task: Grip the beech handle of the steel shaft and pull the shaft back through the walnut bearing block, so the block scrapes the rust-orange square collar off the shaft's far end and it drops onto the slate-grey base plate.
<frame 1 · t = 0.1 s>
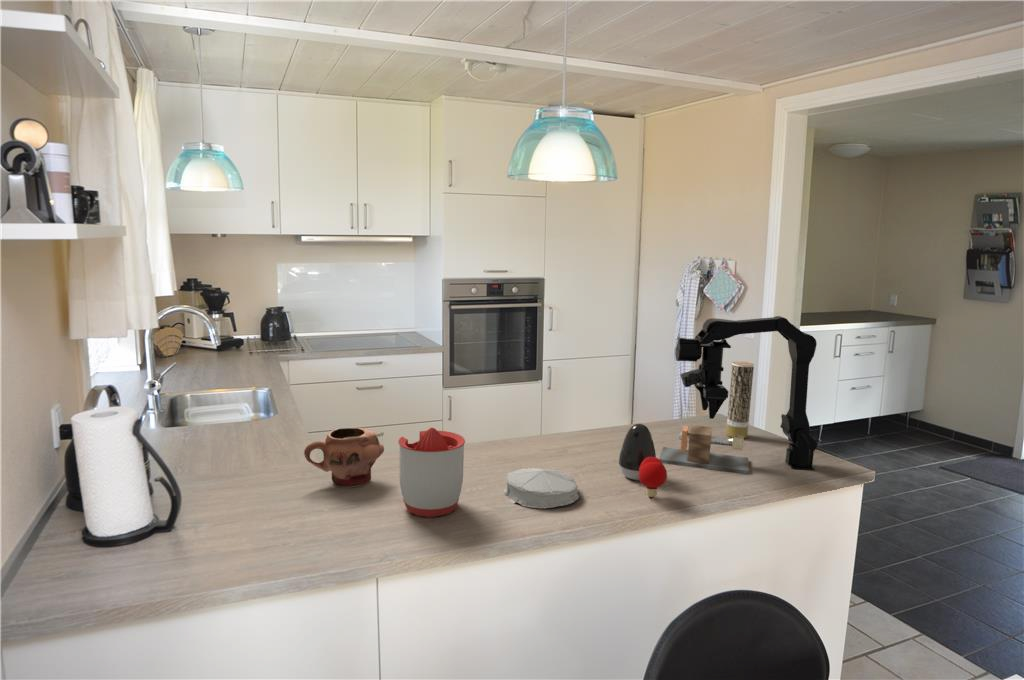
hand: (707, 414, 197), 14 cm above the worktop, tool pointing down, fingers open, 9 cm apart
patterned tall cylinder: (736, 436, 225), on the worktop
citrus juicer: (428, 507, 161), on the worktop
shaft: (710, 439, 197), point 7 cm above the worktop, slide at 0.0 cm, touching spacer collar
brown sculpted mug: (345, 484, 174), on the worktop
spacer collar: (683, 448, 200), point 3 cm above the worktop, touching shaft
black rounded cone: (636, 477, 185), on the worktop
bearing block: (698, 460, 199), on the worktop
food container: (541, 495, 171), on the worktop
light bulb: (651, 498, 171), on the worktop
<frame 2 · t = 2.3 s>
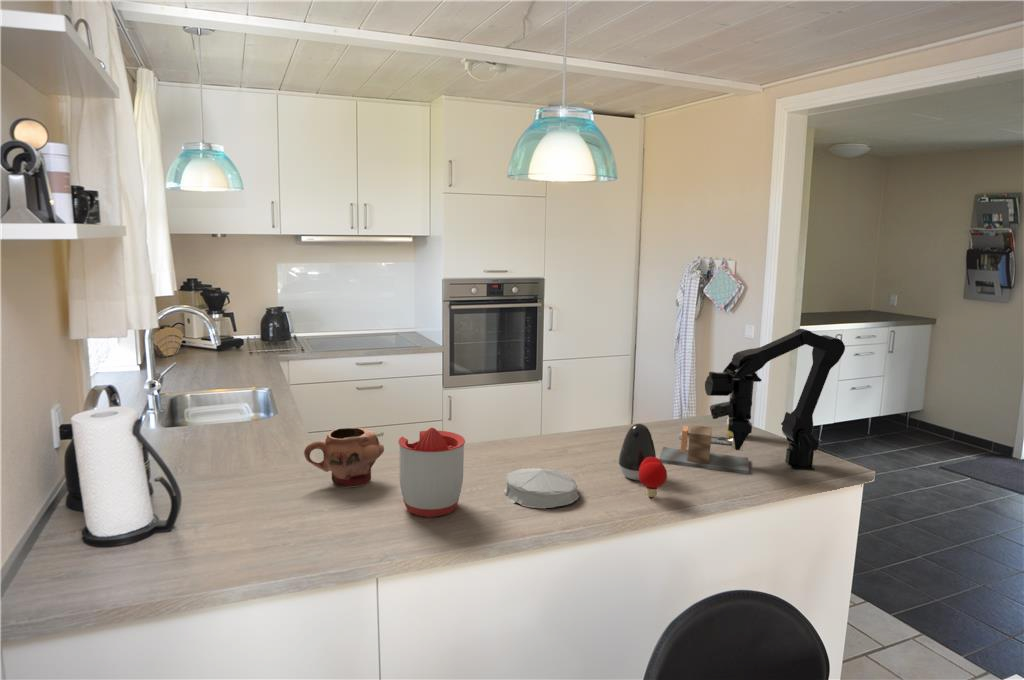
hand: (737, 447, 195), 6 cm above the worktop, tool pointing down, fingers closed on shaft, 4 cm apart
shaft: (710, 439, 197), point 7 cm above the worktop, slide at 0.0 cm, touching gripper, spacer collar
everything else where it was.
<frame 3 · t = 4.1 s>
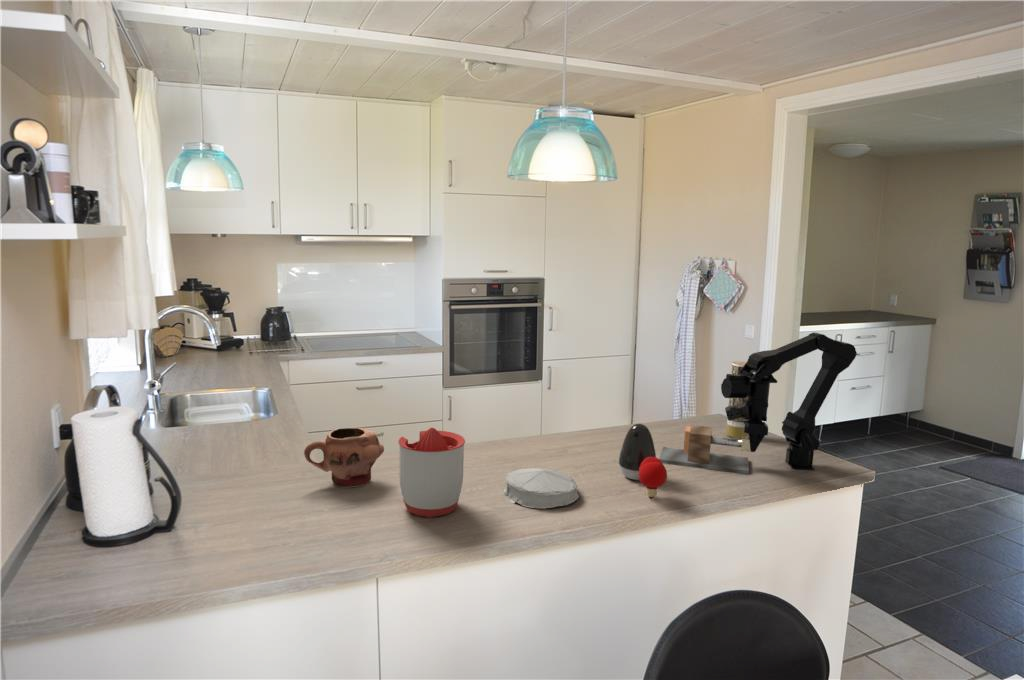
hand: (752, 449, 194), 5 cm above the worktop, tool pointing down, fingers closed on shaft, 4 cm apart
shaft: (720, 440, 196), point 7 cm above the worktop, slide at 2.7 cm, touching gripper, spacer collar
spacer collar: (686, 449, 200), point 3 cm above the worktop, touching bearing block, shaft
everything else where it was.
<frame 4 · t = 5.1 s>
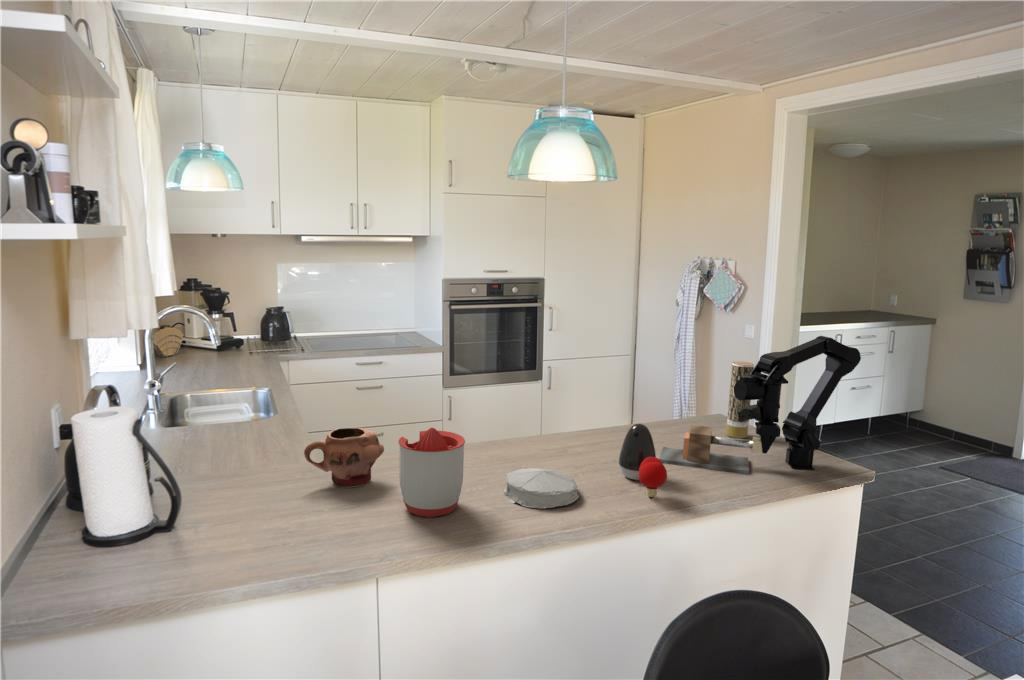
hand: (764, 451, 193), 5 cm above the worktop, tool pointing down, fingers closed on shaft, 4 cm apart
shaft: (730, 442, 196), point 7 cm above the worktop, slide at 5.6 cm, touching gripper
spacer collar: (685, 455, 200), point 1 cm above the worktop, touching bearing block
everything else where it was.
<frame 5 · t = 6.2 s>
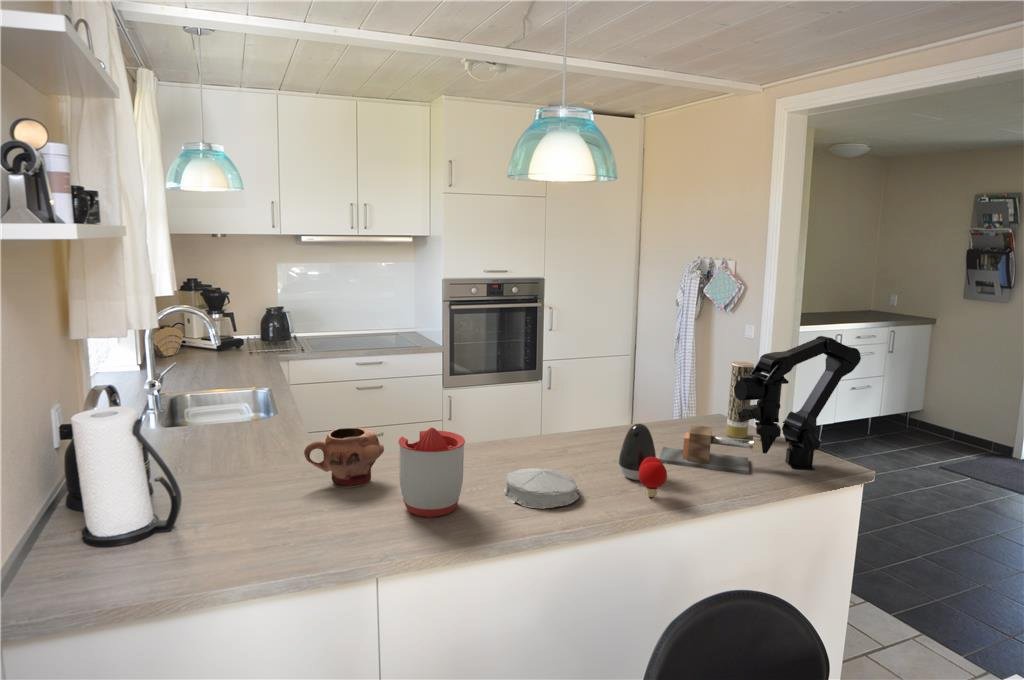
hand: (764, 451, 193), 5 cm above the worktop, tool pointing down, fingers closed on shaft, 4 cm apart
shaft: (731, 442, 196), point 7 cm above the worktop, slide at 5.7 cm, touching gripper
everything else where it was.
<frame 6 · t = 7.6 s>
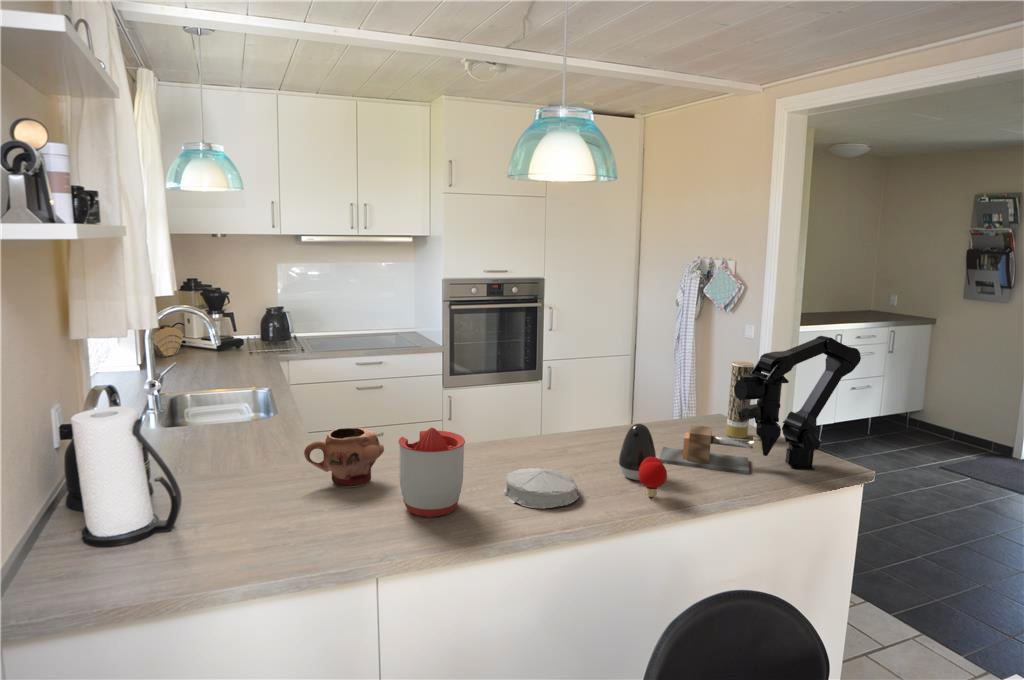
hand: (764, 450, 193), 6 cm above the worktop, tool pointing down, fingers open, 9 cm apart
shaft: (731, 442, 196), point 7 cm above the worktop, slide at 5.7 cm
everything else where it was.
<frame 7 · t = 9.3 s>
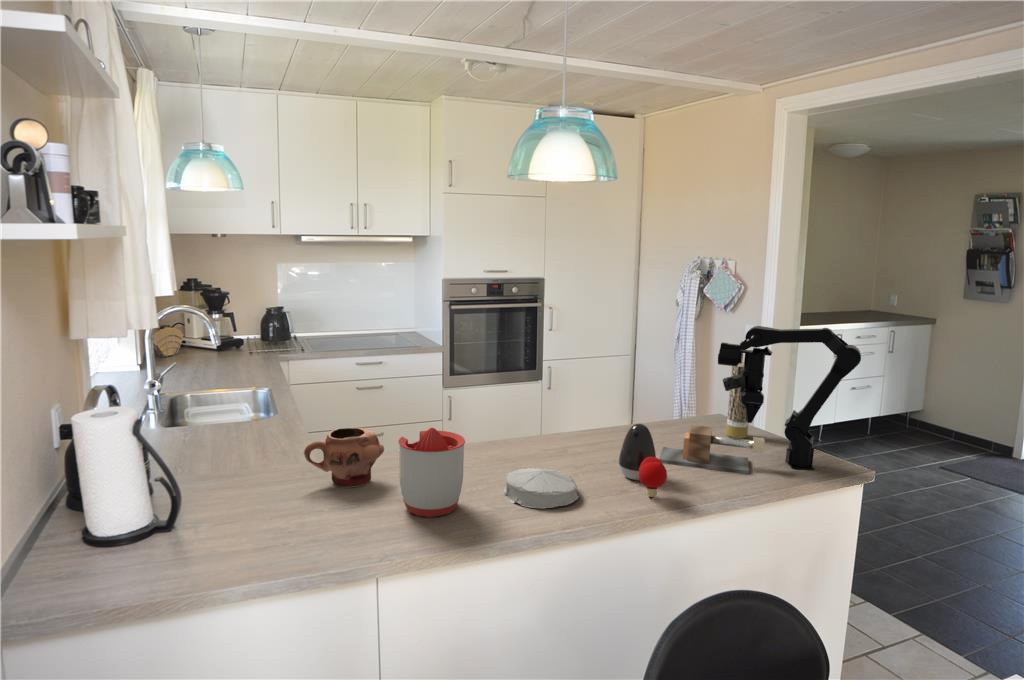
hand: (749, 418, 202), 12 cm above the worktop, tool pointing down, fingers open, 9 cm apart
nothing on the worktop moved.
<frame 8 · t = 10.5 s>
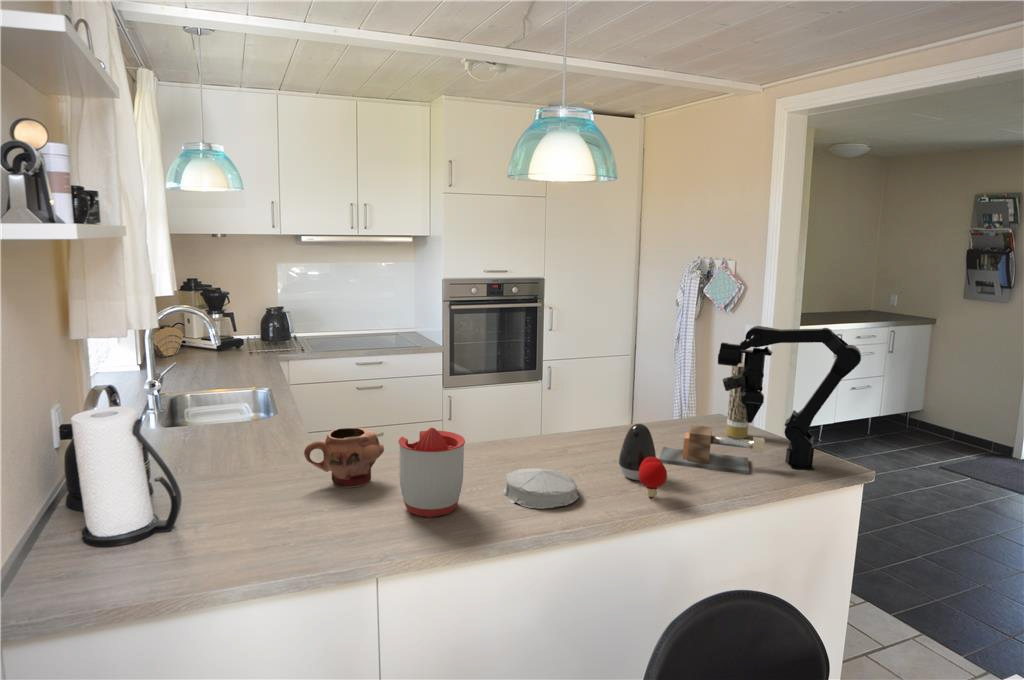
hand: (749, 418, 202), 12 cm above the worktop, tool pointing down, fingers open, 9 cm apart
nothing on the worktop moved.
at the end: shaft slide at 5.7 cm; spacer collar point 1.0 cm above the worktop; spacer collar touching bearing block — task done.
